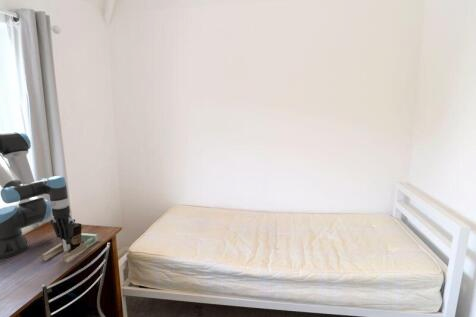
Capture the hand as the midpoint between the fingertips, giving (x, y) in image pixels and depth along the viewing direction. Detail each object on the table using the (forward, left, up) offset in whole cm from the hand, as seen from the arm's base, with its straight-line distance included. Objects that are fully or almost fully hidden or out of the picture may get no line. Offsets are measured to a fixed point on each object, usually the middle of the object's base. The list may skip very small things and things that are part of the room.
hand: (67, 249), depth 142 cm
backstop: (-1, +13, -2) cm, 14 cm away
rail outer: (+6, +2, -2) cm, 7 cm away
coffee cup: (0, +5, -2) cm, 5 cm away
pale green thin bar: (-7, +2, -2) cm, 8 cm away
